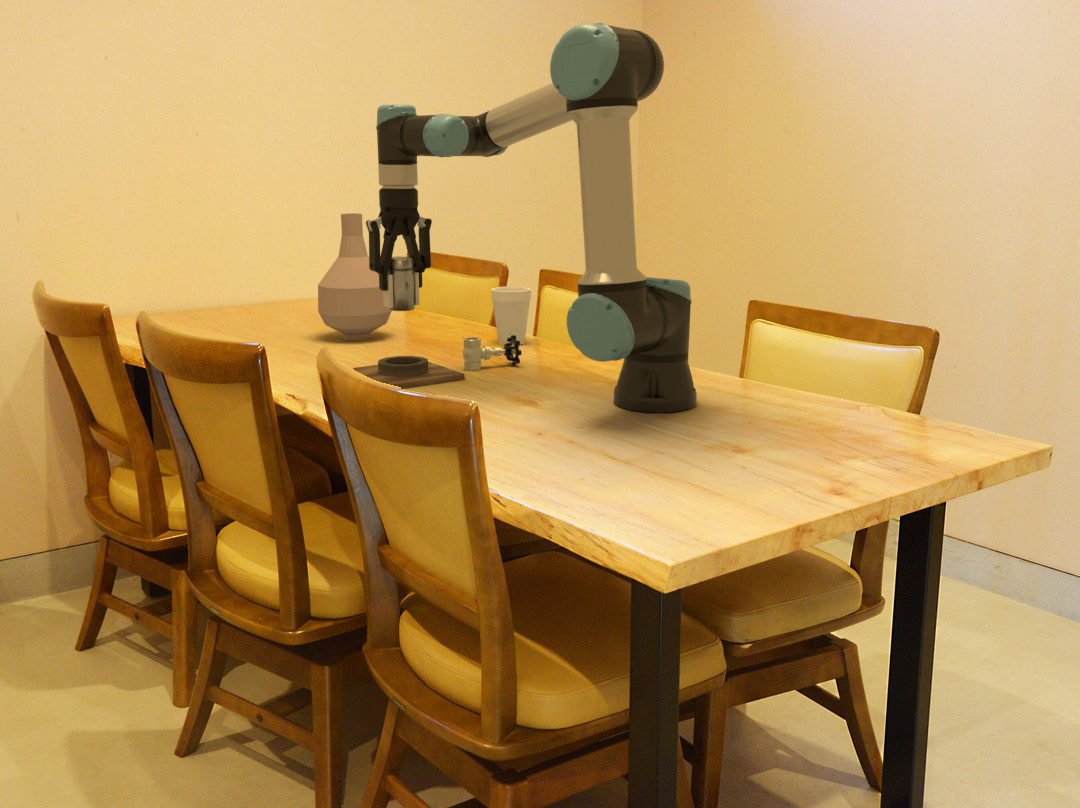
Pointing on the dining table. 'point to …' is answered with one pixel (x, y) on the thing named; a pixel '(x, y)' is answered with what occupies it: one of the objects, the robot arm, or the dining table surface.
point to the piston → (402, 283)
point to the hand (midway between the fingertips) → (401, 305)
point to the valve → (488, 352)
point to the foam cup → (511, 312)
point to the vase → (352, 287)
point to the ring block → (409, 372)
